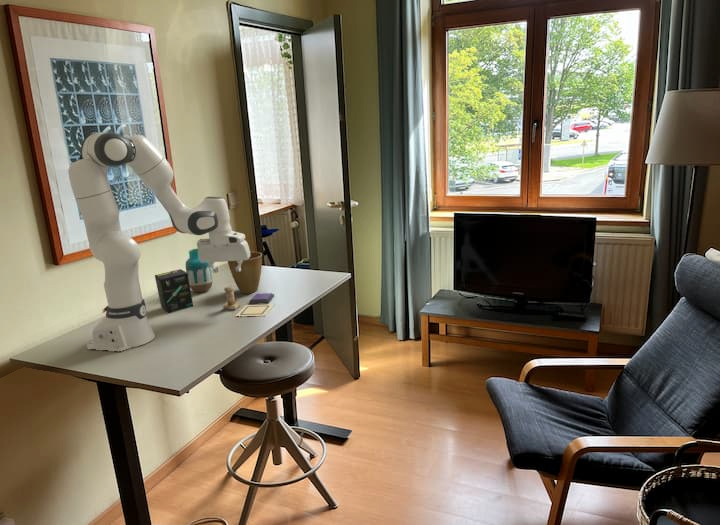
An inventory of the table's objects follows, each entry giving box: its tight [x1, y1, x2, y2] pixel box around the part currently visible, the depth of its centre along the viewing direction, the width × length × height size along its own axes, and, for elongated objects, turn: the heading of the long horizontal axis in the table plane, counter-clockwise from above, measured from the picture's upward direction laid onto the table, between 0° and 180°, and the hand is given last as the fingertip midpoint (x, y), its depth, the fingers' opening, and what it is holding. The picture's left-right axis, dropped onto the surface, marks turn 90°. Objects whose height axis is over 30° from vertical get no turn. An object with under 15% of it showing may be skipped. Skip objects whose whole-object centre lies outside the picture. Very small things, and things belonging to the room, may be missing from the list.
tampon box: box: [154, 268, 194, 314], centre depth 215 cm, size 11×9×15 cm
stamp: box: [222, 285, 241, 311], centre depth 209 cm, size 5×5×9 cm
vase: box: [185, 248, 213, 293], centre depth 233 cm, size 11×11×19 cm
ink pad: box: [249, 292, 275, 305], centre depth 216 cm, size 8×8×2 cm
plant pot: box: [227, 251, 263, 294], centre depth 228 cm, size 15×15×16 cm
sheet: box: [235, 303, 275, 318], centre depth 205 cm, size 12×12×1 cm
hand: (227, 271), depth 206 cm, fingers open, 8 cm apart
